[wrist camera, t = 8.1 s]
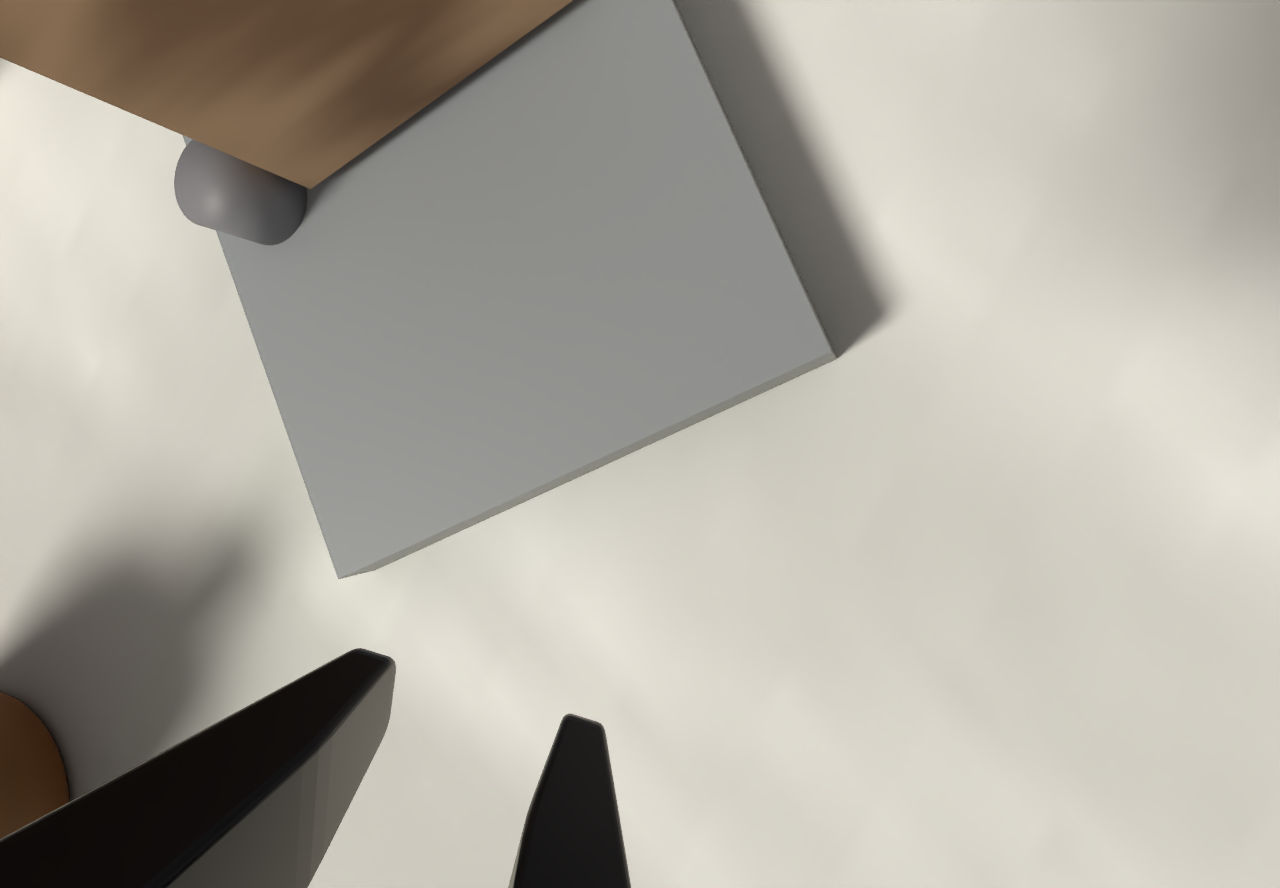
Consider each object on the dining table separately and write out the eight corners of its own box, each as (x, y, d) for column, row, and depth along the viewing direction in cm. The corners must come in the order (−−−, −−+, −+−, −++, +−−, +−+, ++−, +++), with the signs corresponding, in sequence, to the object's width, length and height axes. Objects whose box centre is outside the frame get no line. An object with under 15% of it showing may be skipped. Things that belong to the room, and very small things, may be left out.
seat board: (837, 358, 18) (809, 324, 12) (374, 570, 22) (210, 610, 17) (581, -204, 20) (466, -435, 14) (203, 89, 24) (7, -9, 19)
